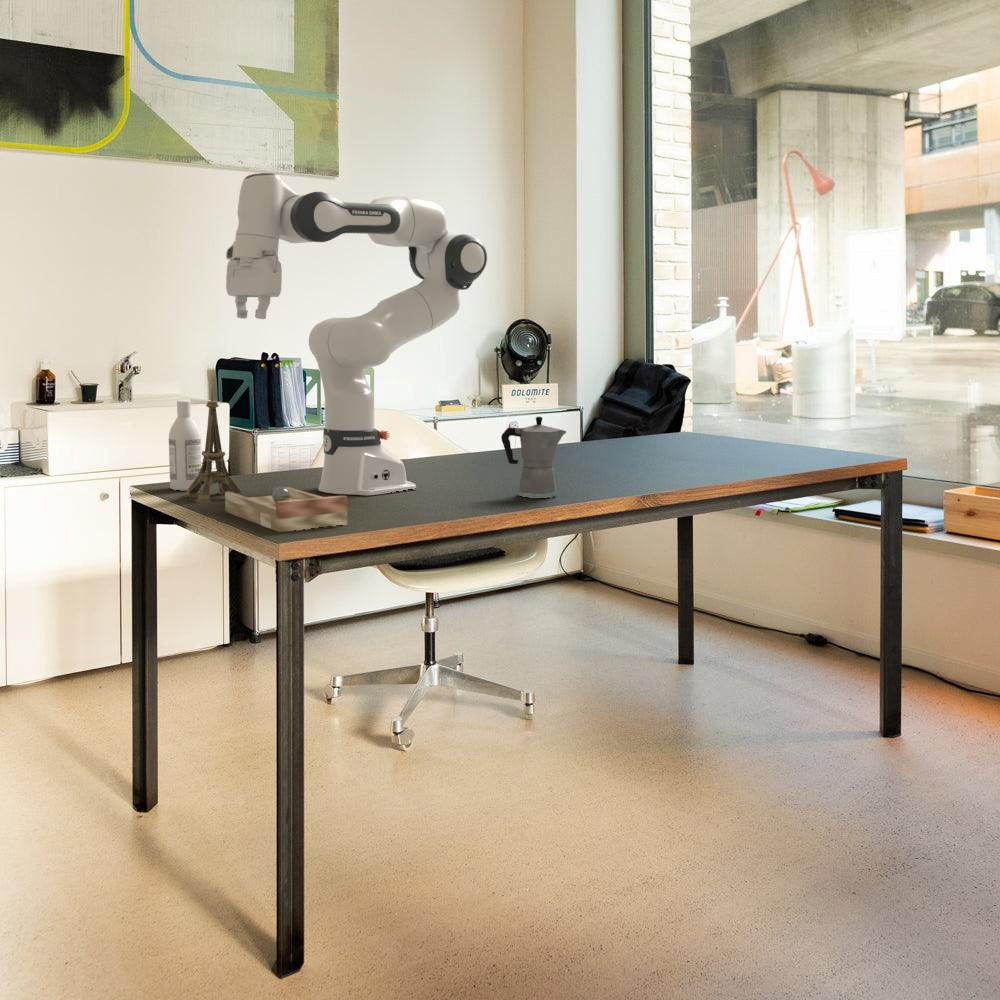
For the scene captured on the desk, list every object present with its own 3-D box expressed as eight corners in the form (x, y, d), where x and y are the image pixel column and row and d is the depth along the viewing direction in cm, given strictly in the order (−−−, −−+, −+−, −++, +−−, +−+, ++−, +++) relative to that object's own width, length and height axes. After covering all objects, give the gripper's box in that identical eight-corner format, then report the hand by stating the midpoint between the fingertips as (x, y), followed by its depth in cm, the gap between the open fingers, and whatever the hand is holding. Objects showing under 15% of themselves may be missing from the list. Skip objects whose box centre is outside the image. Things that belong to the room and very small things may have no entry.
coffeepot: (556, 491, 253) (558, 414, 251) (572, 498, 245) (574, 418, 242) (493, 493, 249) (495, 415, 246) (507, 500, 240) (508, 418, 237)
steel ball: (285, 502, 216) (285, 485, 216) (293, 505, 214) (293, 487, 213) (269, 503, 214) (268, 486, 214) (276, 506, 211) (276, 488, 211)
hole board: (289, 505, 227) (288, 479, 226) (347, 525, 207) (347, 496, 206) (225, 511, 219) (224, 484, 218) (279, 532, 199) (279, 502, 198)
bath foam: (206, 487, 250) (203, 400, 247) (196, 491, 243) (194, 402, 240) (176, 486, 250) (173, 399, 247) (165, 491, 243) (163, 401, 240)
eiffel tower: (198, 503, 229) (195, 384, 225) (182, 496, 237) (179, 381, 233) (246, 499, 235) (244, 383, 231) (229, 492, 243) (226, 380, 239)
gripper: (292, 252, 221) (286, 321, 222) (250, 255, 237) (245, 319, 238) (263, 247, 217) (257, 317, 218) (222, 251, 233) (217, 316, 234)
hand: (250, 318), depth 228 cm, fingers open, 8 cm apart
